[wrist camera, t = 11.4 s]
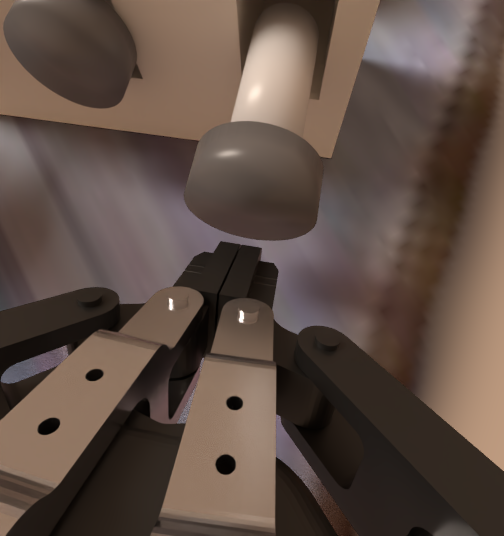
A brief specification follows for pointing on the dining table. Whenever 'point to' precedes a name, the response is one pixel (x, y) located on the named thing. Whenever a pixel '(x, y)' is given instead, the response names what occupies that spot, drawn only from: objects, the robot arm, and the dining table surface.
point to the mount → (201, 68)
